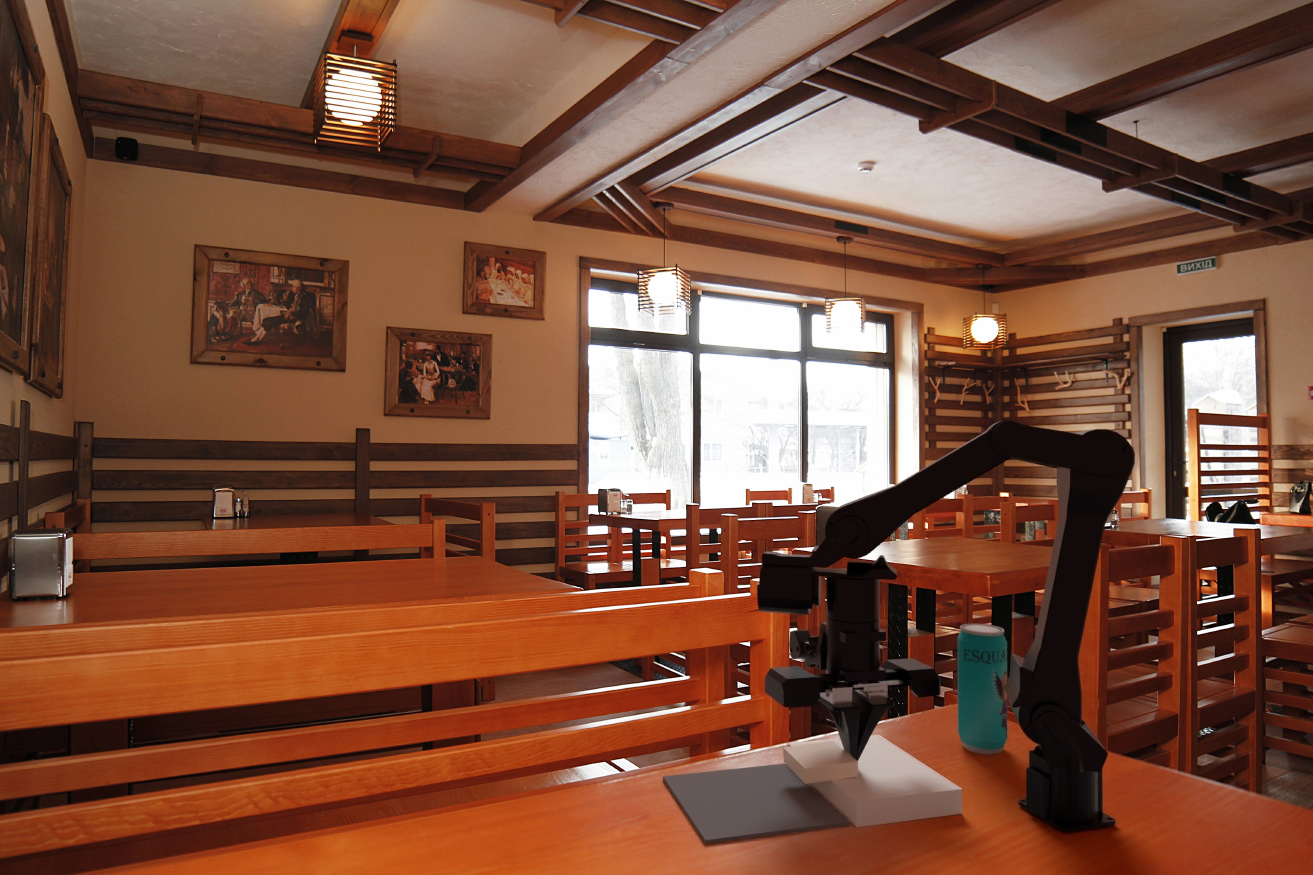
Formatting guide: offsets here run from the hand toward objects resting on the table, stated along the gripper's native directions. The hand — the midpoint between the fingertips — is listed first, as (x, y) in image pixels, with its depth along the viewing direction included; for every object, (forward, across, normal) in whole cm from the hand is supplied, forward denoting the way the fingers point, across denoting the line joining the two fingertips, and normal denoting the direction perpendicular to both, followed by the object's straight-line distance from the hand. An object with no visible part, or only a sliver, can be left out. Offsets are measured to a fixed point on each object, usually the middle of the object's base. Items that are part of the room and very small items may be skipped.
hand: (852, 760), depth 85 cm
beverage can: (+3, -22, -7) cm, 23 cm away
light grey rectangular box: (+3, -2, 0) cm, 4 cm away
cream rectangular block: (+1, +4, 0) cm, 4 cm away
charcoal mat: (+3, +12, 0) cm, 12 cm away
